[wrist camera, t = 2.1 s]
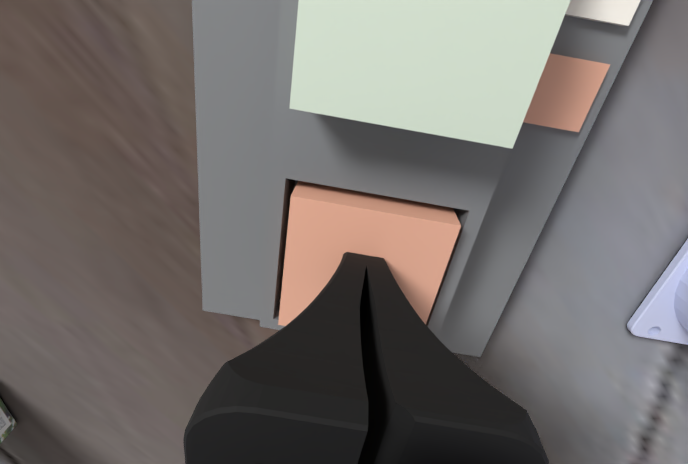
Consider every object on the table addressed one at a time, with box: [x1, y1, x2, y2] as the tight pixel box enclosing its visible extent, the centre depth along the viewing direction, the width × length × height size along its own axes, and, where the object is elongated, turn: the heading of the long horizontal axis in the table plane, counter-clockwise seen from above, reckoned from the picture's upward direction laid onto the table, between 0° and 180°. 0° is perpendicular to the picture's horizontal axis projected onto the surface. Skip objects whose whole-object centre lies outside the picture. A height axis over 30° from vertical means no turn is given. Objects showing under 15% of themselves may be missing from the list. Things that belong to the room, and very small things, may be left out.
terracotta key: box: [278, 181, 461, 326], centre depth 13 cm, size 5×5×2 cm
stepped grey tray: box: [192, 0, 653, 357], centre depth 10 cm, size 13×26×4 cm, turn 171°
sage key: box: [289, 0, 571, 149], centre depth 8 cm, size 5×5×2 cm
